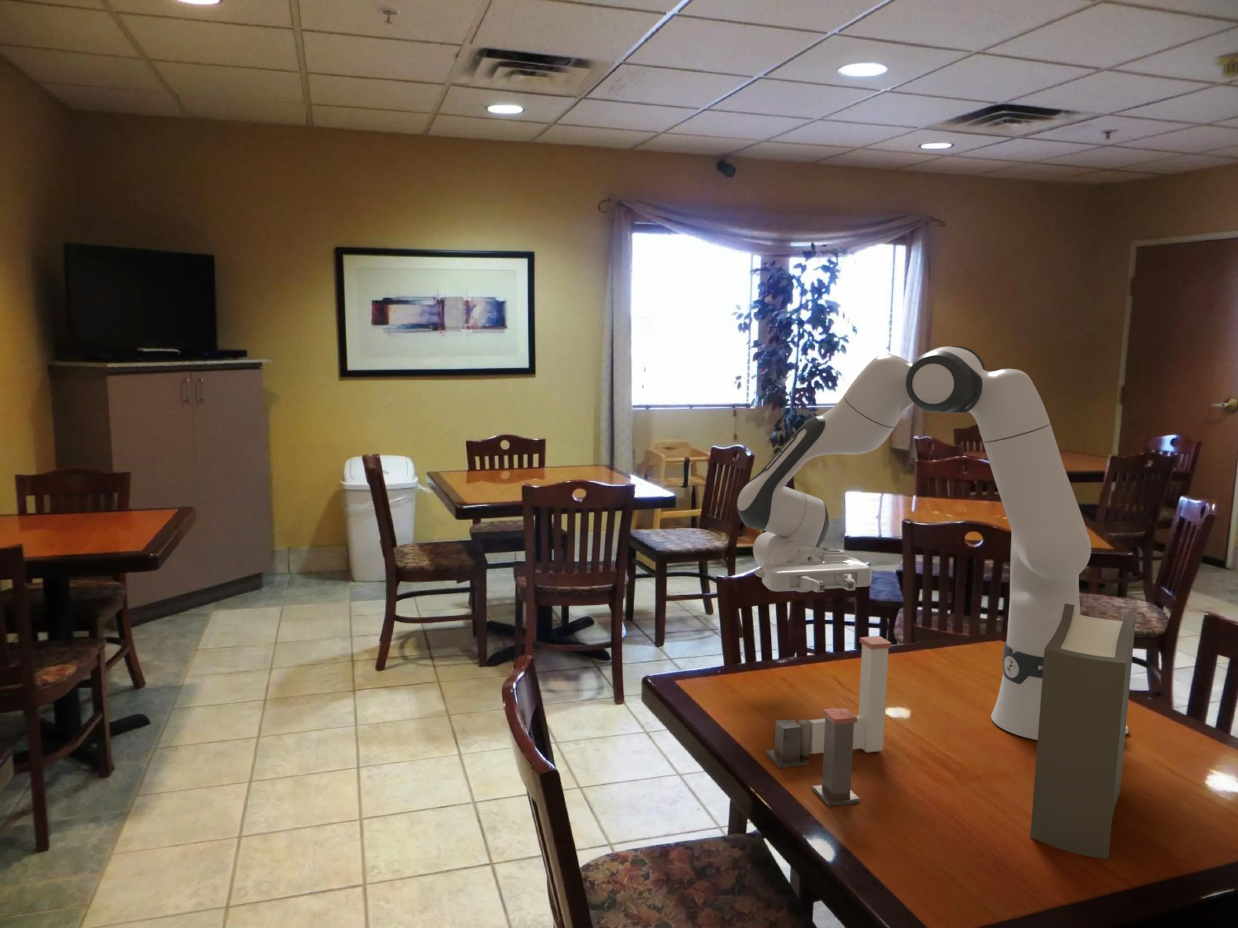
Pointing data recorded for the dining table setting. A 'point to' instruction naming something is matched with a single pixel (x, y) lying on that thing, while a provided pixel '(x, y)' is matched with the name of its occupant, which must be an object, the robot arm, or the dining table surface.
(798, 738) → the hinge post
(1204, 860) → the dining table surface
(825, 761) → the post
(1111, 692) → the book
